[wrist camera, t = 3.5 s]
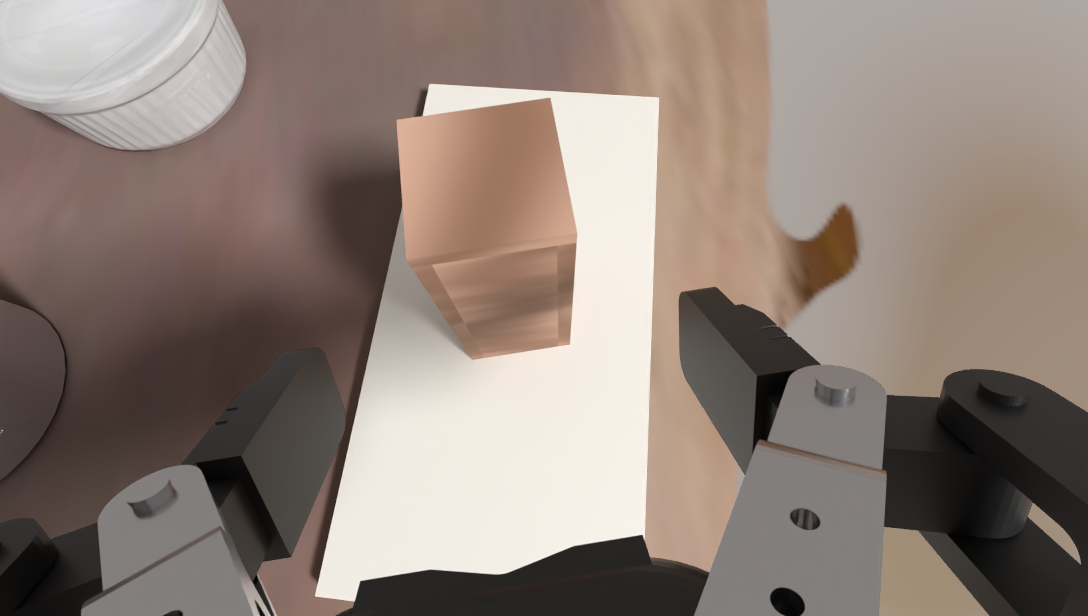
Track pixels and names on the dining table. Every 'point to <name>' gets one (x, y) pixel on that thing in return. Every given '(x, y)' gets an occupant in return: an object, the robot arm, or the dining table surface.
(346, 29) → the dining table surface
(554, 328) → the tan recessed-panel box
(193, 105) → the ramekin
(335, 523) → the hook board
